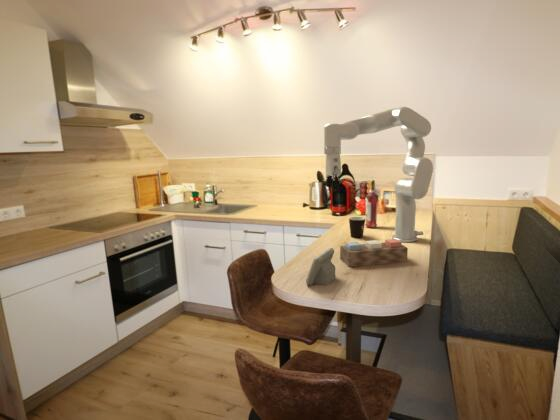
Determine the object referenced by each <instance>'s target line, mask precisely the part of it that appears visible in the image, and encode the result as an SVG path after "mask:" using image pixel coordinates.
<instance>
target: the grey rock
mask: <svg viewBox="0 0 560 420" xmlns="http://www.w3.org/2000/svg"><path fill="white" fill-rule="evenodd" d="M334 254H335V250H334V248H333V247H328V248H327V249H325V250H324V251H322V252H320V254H318V255H317V256H315V258H314V259H313V261H312V263H311V266H310V270H309V271H308V273H307V277H306V279H305V280H306V281H305V282H306V285H308V286H312V285H314V284H318V285H324V286H327V285H328V284H329V283H331V281H333V280H334V278H336V266H335V264H333V262H332V259H333V258H334V257H333V256H334Z"/></svg>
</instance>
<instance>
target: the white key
mask: <svg viewBox="0 0 560 420" xmlns="http://www.w3.org/2000/svg"><path fill="white" fill-rule="evenodd" d="M382 243H383V242H380V241H379V240H375V239H374V240H366V241H365V244H366V245H365V246H366V247H367V248H369V249H378V248H382Z"/></svg>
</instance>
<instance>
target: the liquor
mask: <svg viewBox="0 0 560 420" xmlns="http://www.w3.org/2000/svg"><path fill="white" fill-rule="evenodd" d="M378 204H379V195H378V194H376V193H375V180H374V179H371V180H369V193H368V194H365V225H364V226H365V227H366V228H367V229H374V228H376V227H378V224H377V216H378V215H377V214H378V206H379V205H378Z"/></svg>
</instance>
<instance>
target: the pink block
mask: <svg viewBox="0 0 560 420" xmlns="http://www.w3.org/2000/svg"><path fill="white" fill-rule="evenodd" d="M384 243H385V245H386V246H388V247H390V248H392V247H401V245H402V243H403V242H401V241H399V240H397V239H392V238H391V239H385V240H384Z"/></svg>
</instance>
